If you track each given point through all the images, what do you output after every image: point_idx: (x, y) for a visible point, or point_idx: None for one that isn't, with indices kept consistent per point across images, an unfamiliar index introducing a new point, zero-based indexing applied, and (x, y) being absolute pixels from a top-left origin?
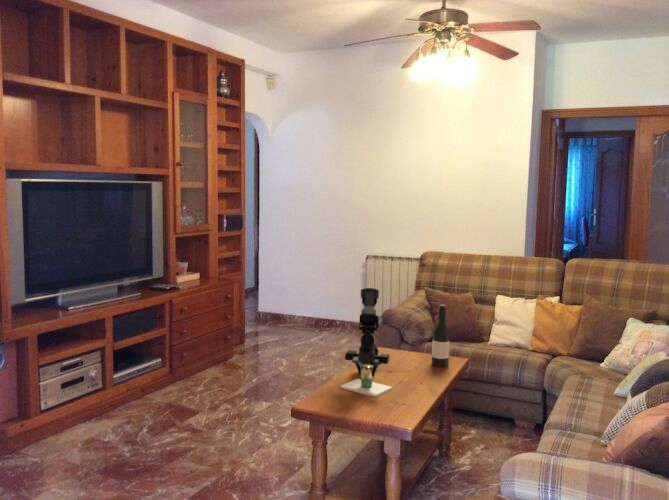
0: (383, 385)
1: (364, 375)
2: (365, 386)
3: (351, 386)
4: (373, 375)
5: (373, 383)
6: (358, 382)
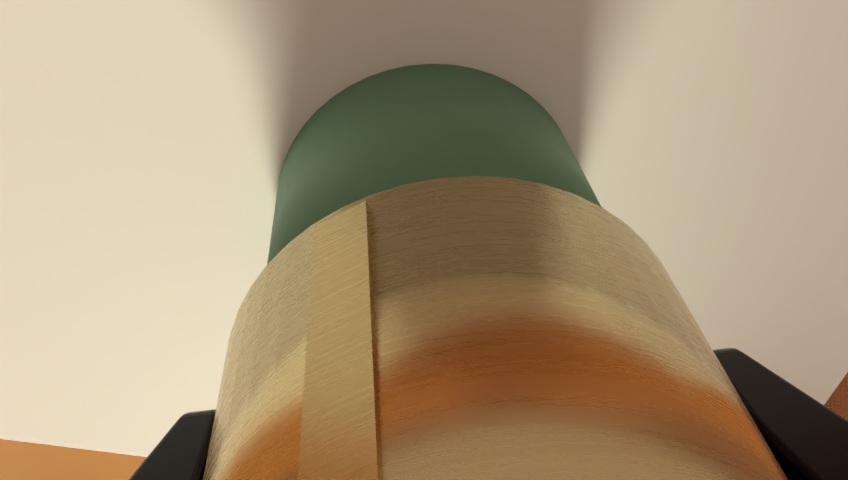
0: (76, 420)
1: (516, 268)
2: (415, 86)
3: (831, 27)
4: (163, 459)
5: None
6: None
